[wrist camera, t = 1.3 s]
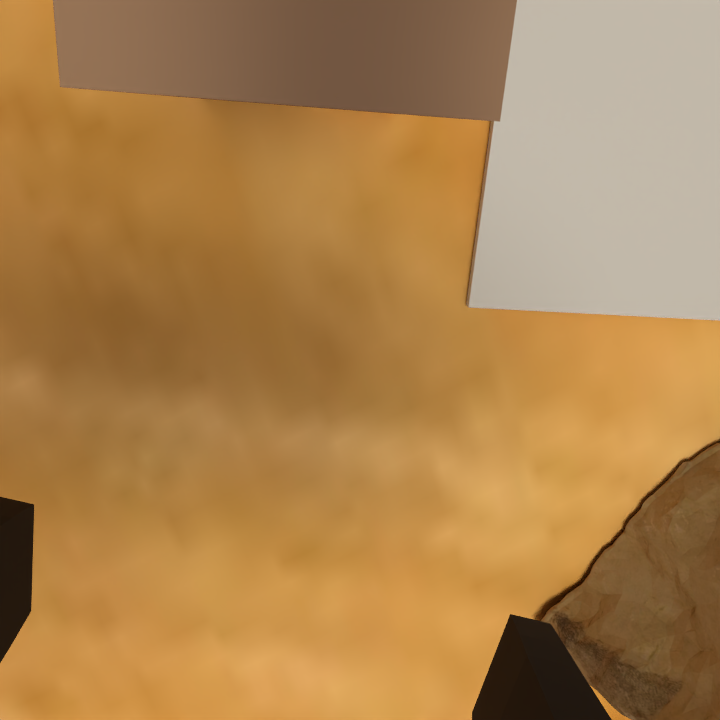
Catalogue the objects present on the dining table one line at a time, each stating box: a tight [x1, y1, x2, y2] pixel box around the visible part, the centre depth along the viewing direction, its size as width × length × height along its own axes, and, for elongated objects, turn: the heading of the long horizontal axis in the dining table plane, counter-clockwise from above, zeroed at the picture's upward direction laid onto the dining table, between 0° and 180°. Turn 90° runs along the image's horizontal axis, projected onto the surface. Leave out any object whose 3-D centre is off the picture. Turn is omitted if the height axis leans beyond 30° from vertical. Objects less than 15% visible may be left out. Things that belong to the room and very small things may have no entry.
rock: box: [541, 443, 720, 720], centre depth 20 cm, size 11×9×10 cm
